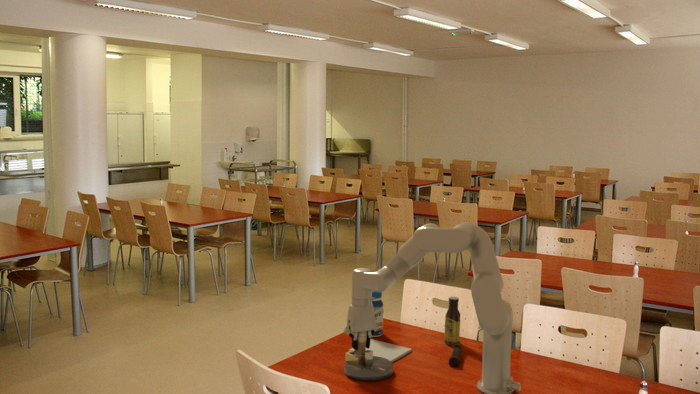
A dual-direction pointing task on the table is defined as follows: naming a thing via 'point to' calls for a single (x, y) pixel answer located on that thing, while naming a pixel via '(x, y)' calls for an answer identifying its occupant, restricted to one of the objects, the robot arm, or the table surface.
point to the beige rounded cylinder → (361, 343)
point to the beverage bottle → (378, 313)
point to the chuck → (367, 366)
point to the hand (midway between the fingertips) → (361, 347)
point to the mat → (387, 350)
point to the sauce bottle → (452, 322)
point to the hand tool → (455, 355)
